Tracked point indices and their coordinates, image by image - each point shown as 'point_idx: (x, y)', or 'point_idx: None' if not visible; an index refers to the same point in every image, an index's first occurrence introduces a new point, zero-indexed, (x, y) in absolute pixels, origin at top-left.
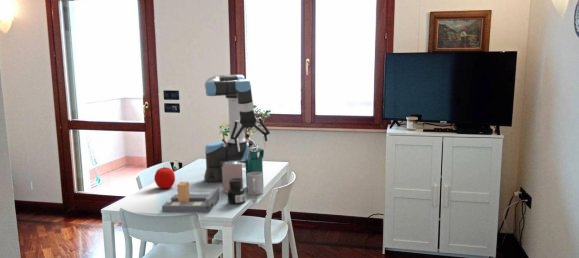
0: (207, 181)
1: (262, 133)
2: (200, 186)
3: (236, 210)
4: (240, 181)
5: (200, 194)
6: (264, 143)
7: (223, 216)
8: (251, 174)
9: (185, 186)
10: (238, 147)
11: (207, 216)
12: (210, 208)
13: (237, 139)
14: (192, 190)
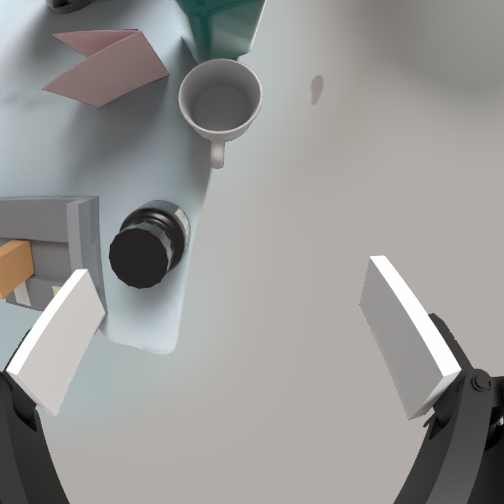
0: (56, 11)
1: (421, 455)
2: (36, 55)
3: (177, 309)
4: (164, 274)
5: (38, 201)
6: (382, 341)
7: (154, 347)
8: (202, 69)
9: (5, 291)
10: (82, 343)
11: (115, 342)
12: (104, 310)
13: (43, 407)
14: (17, 99)
